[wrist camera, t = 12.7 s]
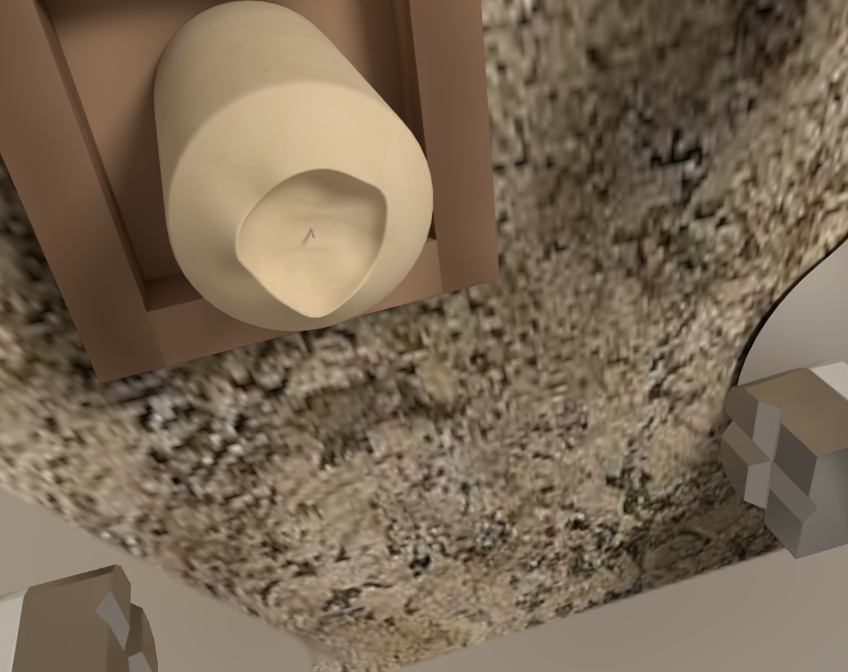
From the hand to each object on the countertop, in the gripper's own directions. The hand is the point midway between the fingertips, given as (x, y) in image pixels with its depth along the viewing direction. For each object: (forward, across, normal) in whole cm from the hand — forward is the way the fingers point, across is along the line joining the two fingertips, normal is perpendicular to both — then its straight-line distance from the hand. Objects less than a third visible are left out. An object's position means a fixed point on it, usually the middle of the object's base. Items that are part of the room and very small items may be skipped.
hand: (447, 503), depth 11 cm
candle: (+17, -1, +1) cm, 17 cm away
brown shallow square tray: (+18, -1, 0) cm, 18 cm away
